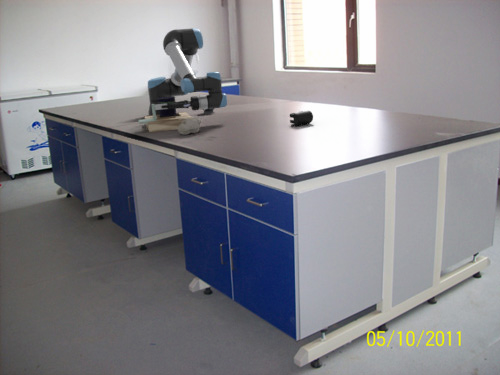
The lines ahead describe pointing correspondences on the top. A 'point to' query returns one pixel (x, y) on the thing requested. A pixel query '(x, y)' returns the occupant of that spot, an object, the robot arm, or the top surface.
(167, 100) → the dark blue barrel
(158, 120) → the puzzle board
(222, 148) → the top surface
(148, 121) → the cover
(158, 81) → the robot arm
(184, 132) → the fossil replica
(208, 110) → the mortar and pestle
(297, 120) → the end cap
